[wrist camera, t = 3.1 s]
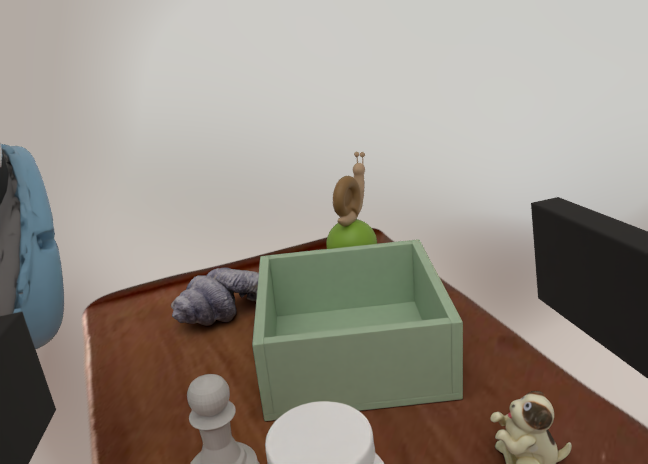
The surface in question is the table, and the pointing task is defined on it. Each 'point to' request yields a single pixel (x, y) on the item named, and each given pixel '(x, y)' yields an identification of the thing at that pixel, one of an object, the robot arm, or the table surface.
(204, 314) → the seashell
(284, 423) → the pill bottle
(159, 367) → the table surface
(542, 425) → the toy dog
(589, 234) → the robot arm
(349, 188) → the snail figurine
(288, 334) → the bin
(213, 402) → the chess piece
